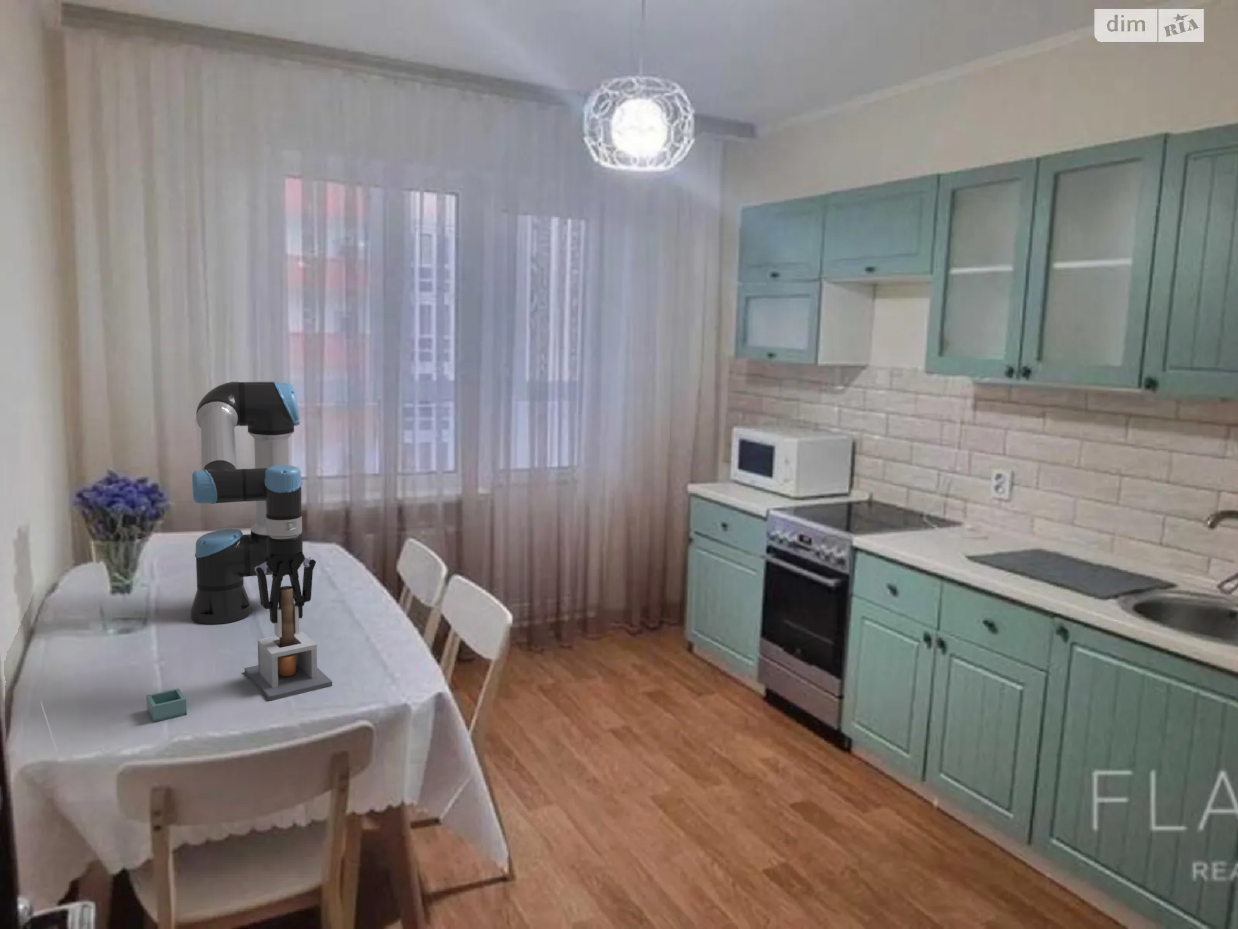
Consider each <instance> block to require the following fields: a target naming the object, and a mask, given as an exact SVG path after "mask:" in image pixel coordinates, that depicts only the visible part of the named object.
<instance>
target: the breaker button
mask: <svg viewBox="0 0 1238 929" xmlns="http://www.w3.org/2000/svg"><path fill="white" fill-rule="evenodd" d="M296 672H297V671H296V653H295V655H294V656H291V657H281V656H280V657H279V675H281V676H291V675H294V674H296Z"/></svg>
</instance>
